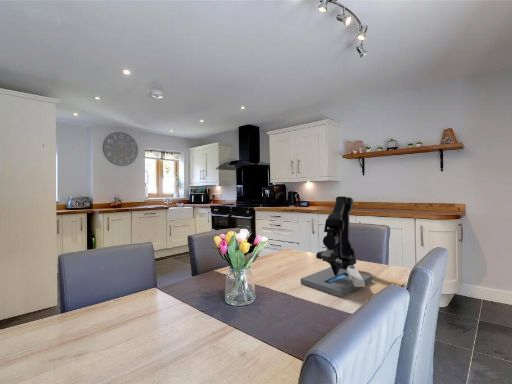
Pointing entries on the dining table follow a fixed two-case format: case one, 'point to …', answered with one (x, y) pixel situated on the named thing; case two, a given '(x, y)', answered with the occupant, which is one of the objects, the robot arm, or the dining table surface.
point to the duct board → (336, 288)
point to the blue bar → (336, 279)
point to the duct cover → (355, 276)
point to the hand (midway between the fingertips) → (335, 275)
